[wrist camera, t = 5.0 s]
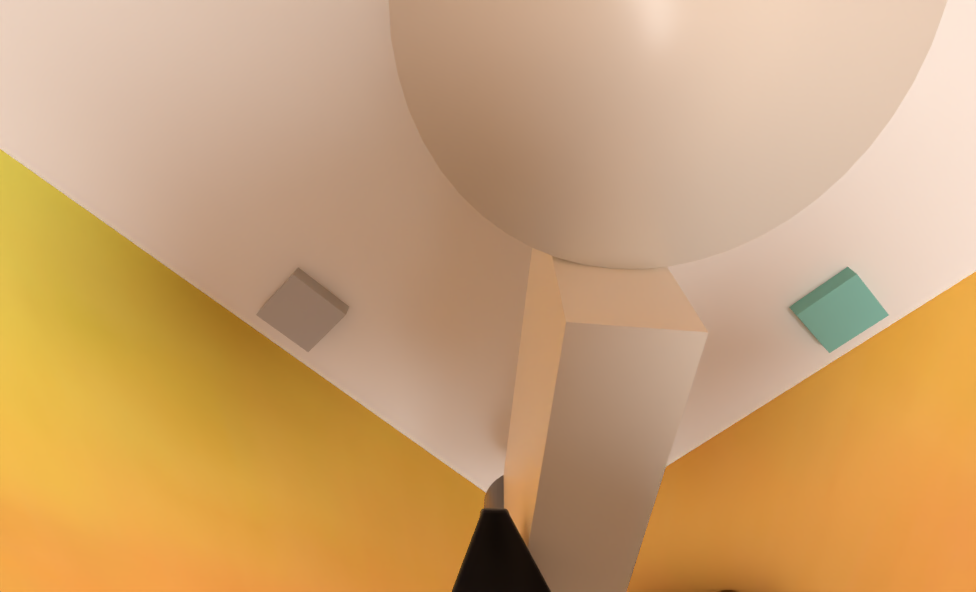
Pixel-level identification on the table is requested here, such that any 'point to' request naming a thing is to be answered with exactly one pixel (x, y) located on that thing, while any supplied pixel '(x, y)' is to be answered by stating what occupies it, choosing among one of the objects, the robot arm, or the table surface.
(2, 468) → the table surface
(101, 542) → the table surface
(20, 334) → the table surface
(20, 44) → the lock base
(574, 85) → the lock lever
